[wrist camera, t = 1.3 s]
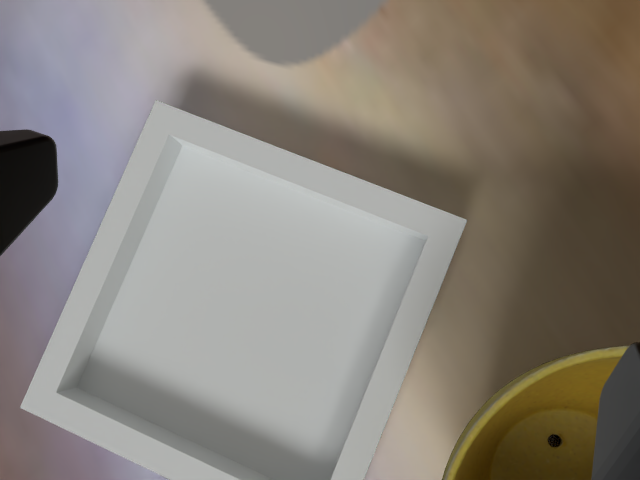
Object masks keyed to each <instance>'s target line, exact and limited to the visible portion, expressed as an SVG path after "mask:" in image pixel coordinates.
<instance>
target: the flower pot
mask: <svg viewBox="0 0 640 480" xmlns="http://www.w3.org/2000/svg"><path fill="white" fill-rule="evenodd" d="M628 347H629V346H618V347H608V348H601V349H594V350H589V351H584V352H579V353H575V354H571V355H568V356H564V357H561V358H558V359H555V360H553V361H550V362H547V363H545V364H542V365H540V366H538V367H536V368H534V369H532V370H530V371H528V372H526V373H524V374H523V375H521V376H519V377H517V378H516V379H514V380H513V381H511V382H510V383H508V384H507V385H506V386H504V387H503V388H502V389H500V390H499V391H498V392H497V393H496V394H494V395H493V396H492V397H491V398H490V399H489V400H488V401H487V402H486V403H485V404H484V405H483V406H482V407H481V408H480V409H479V410H478V412H477V413H476V414H475V416H474V417H473V418H472V419H471V421H470V422H469V423H468V425H467V426H466V428H465V429H464V431H463V433H462V434H461V436H460V438H459V439H458V441H457V443H456V445H455V447H454V449H453V451H452V453H451V455H450V458H449V460H448V463H447V466H446V468H445V471H444V475H443V478H442V480H591V477H592V468H593V458H594V448H595V439H596V429H597V419H598V409H599V400H600V395H601V392H602V389H603V387H604V384H605V383H606V381H607V379H608V378H609V376H610V375H611V373H612V372H613V370H614V368H615V367H616V365H617V364H618V362H619V360H620V359H621V357H622V356H623V354H624V353H625V351H626V350H627V348H628ZM552 434H556V435H558V436H559V437H560V440H561V442H560V444H559V446H557V447H552V446H550V445H549V443H548V437H549V436H550V435H552Z"/></svg>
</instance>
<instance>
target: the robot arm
mask: <svg viewBox="0 0 640 480" xmlns="http://www.w3.org/2000/svg"><path fill="white" fill-rule="evenodd" d="M57 187H58V170H57V148H56V144H55V142H54V140H53V139H52V138H51V137H49V136H47V135H44V134H41V133H38V132H35V131H32V130H11V131H0V256H1V255H2V254H3V253H4V251H5V250H6V249H7V248H8V247H9V246H10V245H11V244H12V243H13V242H14V240H15V239H16V238H17V237H18V236H19V235H20V234H21V233H22V232H23V231H24V230H25V228H26V227H27V226H28V225H29V224H30V223H31V222H32V221H33V220H34V219H35V217H36V216H37V215H38V214H39V213H40V212H41V211H42V210H43V209H44V208H45V206H46V205H47V204H48V203H49V202H50V201H51V200H52V199H53V197H54V195H55V194H56V191H57ZM591 480H640V343H639V342H636V343H633V344H631V345H630V346H629V347H628V348H627V350H626V351H625V353H624V354H623V356H622V357H621V359H620V360H619V362H618V364H617V365H616V367H615V368H614V370H613V372H612V373H611V375H610V376H609V378H608V379H607V381H606V383H605V384H604V387H603V389H602V392H601V395H600V400H599V409H598V419H597V429H596V439H595V448H594V458H593V468H592V477H591Z"/></svg>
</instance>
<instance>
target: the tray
mask: <svg viewBox="0 0 640 480" xmlns="http://www.w3.org/2000/svg"><path fill="white" fill-rule="evenodd" d="M466 222H467V220H466V219H464V218H461V217H458V216H456V215H453V214H451V213H448V212H445V211H443V210H440V209H438V208H435V207H432V206H430V205H427V204H425V203H422V202H419V201H417V200H414V199H412V198H409V197H406V196H404V195H401V194H399V193H396V192H393V191H391V190H388V189H386V188H383V187H380V186H378V185H375V184H373V183H370V182H367V181H365V180H362V179H360V178H357V177H354V176H352V175H349V174H347V173H344V172H341V171H339V170H336V169H334V168H331V167H328V166H326V165H323V164H321V163H318V162H315V161H313V160H310V159H308V158H305V157H302V156H300V155H297V154H295V153H292V152H289V151H287V150H284V149H282V148H279V147H276V146H274V145H271V144H269V143H266V142H263V141H261V140H258V139H256V138H253V137H250V136H248V135H245V134H243V133H240V132H237V131H235V130H232V129H230V128H227V127H224V126H222V125H219V124H217V123H214V122H211V121H209V120H206V119H204V118H201V117H198V116H196V115H193V114H191V113H188V112H185V111H183V110H180V109H178V108H175V107H172V106H170V105H167V104H165V103H162V102H159V101H157V100H156V101H155V103H154V105H153V108H152V110H151V112H150V114H149V117H148V119H147V121H146V124H145V126H144V128H143V130H142V133H141V135H140V137H139V139H138V142H137V144H136V146H135V148H134V151H133V153H132V155H131V158H130V160H129V162H128V164H127V167H126V169H125V171H124V173H123V176H122V178H121V180H120V182H119V185H118V187H117V189H116V191H115V194H114V196H113V198H112V201H111V203H110V205H109V207H108V210H107V212H106V214H105V216H104V219H103V221H102V223H101V225H100V228H99V230H98V232H97V234H96V237H95V239H94V241H93V244H92V246H91V248H90V250H89V253H88V255H87V257H86V259H85V262H84V264H83V266H82V268H81V271H80V273H79V275H78V278H77V280H76V282H75V284H74V287H73V289H72V291H71V293H70V296H69V298H68V300H67V302H66V305H65V307H64V309H63V311H62V314H61V316H60V318H59V321H58V323H57V325H56V327H55V330H54V332H53V334H52V336H51V339H50V341H49V343H48V345H47V348H46V350H45V352H44V355H43V357H42V359H41V361H40V364H39V366H38V368H37V370H36V373H35V375H34V377H33V379H32V382H31V384H30V386H29V388H28V391H27V393H26V395H25V398H24V400H23V402H22V404H21V407H20V408H22V409H24V410H26V411H28V412H30V413H32V414H34V415H36V416H38V417H41V418H43V419H45V420H47V421H49V422H51V423H53V424H55V425H57V426H59V427H61V428H63V429H65V430H68V431H70V432H72V433H74V434H76V435H78V436H80V437H82V438H84V439H86V440H88V441H90V442H92V443H95V444H97V445H99V446H101V447H103V448H105V449H107V450H109V451H111V452H113V453H115V454H117V455H119V456H122V457H124V458H126V459H128V460H130V461H132V462H134V463H136V464H138V465H140V466H142V467H144V468H146V469H148V470H151V471H153V472H155V473H157V474H159V475H161V476H163V477H165V478H167V479H169V480H364V478H365V475H366V473H367V470H368V468H369V465H370V463H371V460H372V458H373V455H374V453H375V450H376V448H377V445H378V443H379V440H380V438H381V435H382V433H383V430H384V428H385V425H386V423H387V420H388V418H389V415H390V413H391V410H392V408H393V405H394V403H395V400H396V398H397V395H398V393H399V390H400V388H401V385H402V382H403V380H404V377H405V375H406V372H407V370H408V367H409V365H410V362H411V360H412V357H413V355H414V352H415V350H416V347H417V345H418V342H419V340H420V337H421V335H422V332H423V330H424V327H425V325H426V322H427V320H428V317H429V315H430V312H431V310H432V307H433V305H434V302H435V300H436V297H437V295H438V292H439V290H440V287H441V285H442V282H443V280H444V277H445V275H446V272H447V270H448V267H449V265H450V262H451V260H452V257H453V255H454V252H455V250H456V247H457V244H458V242H459V239H460V237H461V234H462V232H463V229H464V227H465V224H466Z"/></svg>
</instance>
